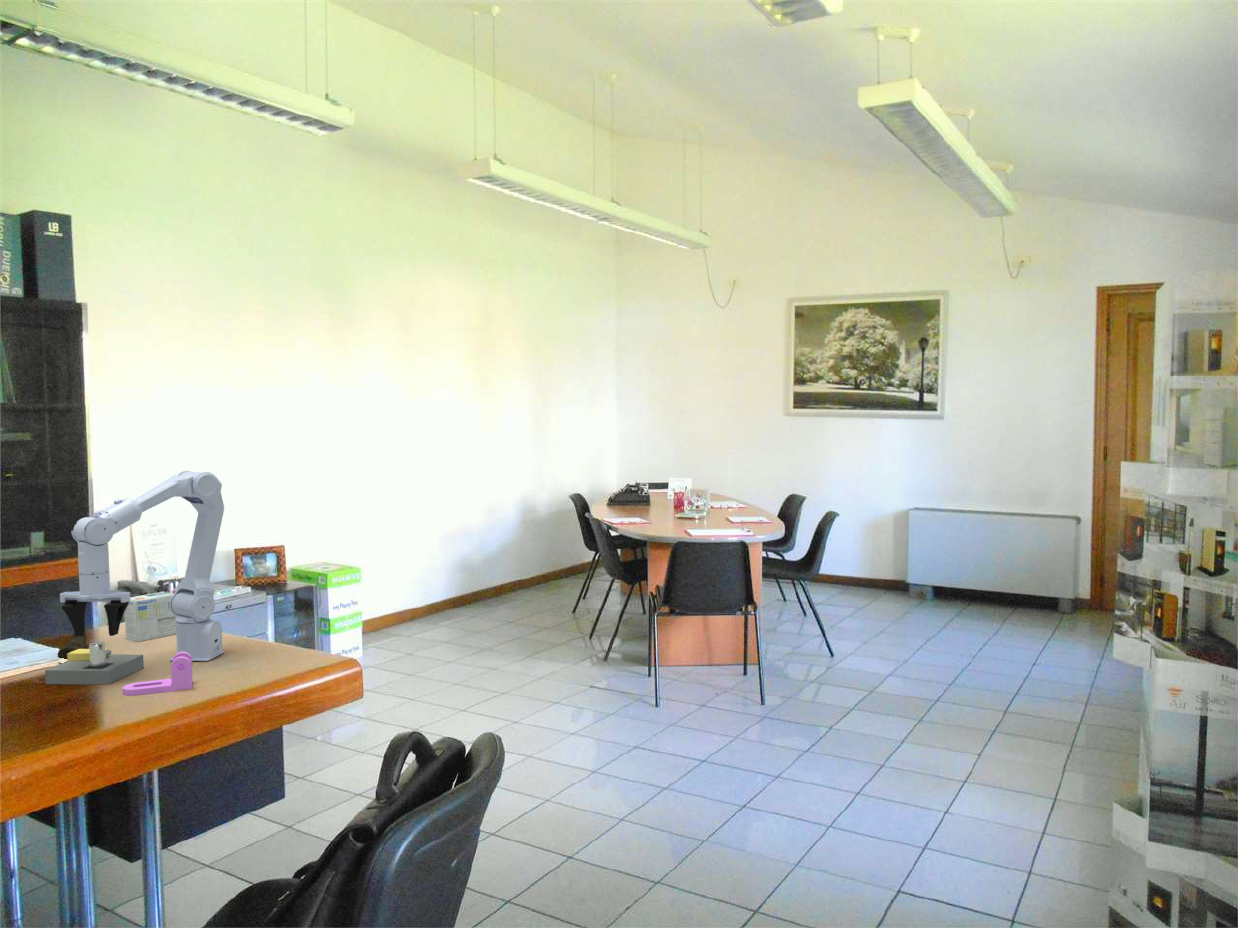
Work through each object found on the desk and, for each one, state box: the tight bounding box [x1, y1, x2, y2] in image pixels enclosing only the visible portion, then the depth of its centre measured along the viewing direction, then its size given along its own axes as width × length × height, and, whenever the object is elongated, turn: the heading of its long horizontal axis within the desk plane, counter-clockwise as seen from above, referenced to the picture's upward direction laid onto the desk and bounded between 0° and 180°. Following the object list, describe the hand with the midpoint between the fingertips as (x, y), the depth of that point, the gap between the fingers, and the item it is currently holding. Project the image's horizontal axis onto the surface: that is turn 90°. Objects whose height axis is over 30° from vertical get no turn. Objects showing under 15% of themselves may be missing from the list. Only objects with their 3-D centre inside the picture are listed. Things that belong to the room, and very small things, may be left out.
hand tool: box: [57, 630, 87, 659], centre depth 220 cm, size 19×4×5 cm, turn 18°
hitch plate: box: [44, 653, 145, 686], centre depth 201 cm, size 14×13×3 cm
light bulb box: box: [124, 591, 176, 643], centre depth 236 cm, size 11×7×11 cm, turn 144°
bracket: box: [122, 652, 194, 697], centre depth 190 cm, size 13×6×7 cm, turn 113°
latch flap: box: [67, 648, 112, 661], centre depth 204 cm, size 8×4×2 cm, turn 87°
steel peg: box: [88, 641, 106, 669], centre depth 197 cm, size 3×3×8 cm
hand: (96, 634), depth 197 cm, fingers open, 7 cm apart
